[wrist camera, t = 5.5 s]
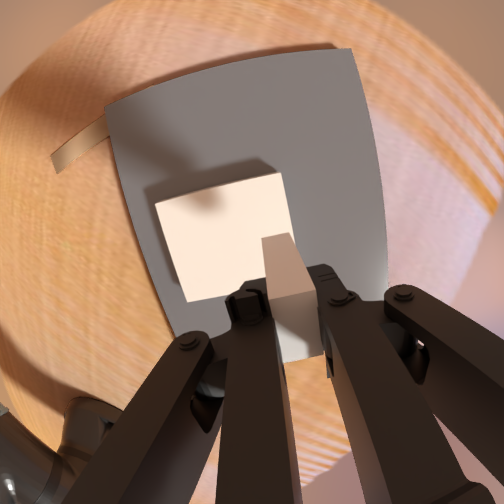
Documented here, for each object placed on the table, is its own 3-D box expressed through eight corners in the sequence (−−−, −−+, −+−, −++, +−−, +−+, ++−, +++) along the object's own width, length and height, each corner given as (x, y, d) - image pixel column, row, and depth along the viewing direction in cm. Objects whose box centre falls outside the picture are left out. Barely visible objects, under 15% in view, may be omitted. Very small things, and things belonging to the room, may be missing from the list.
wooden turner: (69, 190, 22) (63, 192, 21) (51, 139, 20) (45, 139, 19) (264, 86, 19) (264, 83, 18) (235, 31, 18) (235, 26, 17)
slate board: (194, 365, 27) (192, 372, 26) (110, 108, 19) (104, 106, 18) (382, 326, 26) (387, 333, 25) (346, 53, 17) (350, 48, 16)
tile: (298, 270, 22) (191, 292, 23) (278, 171, 20) (162, 200, 20) (301, 279, 21) (187, 302, 21) (280, 172, 18) (154, 203, 19)
